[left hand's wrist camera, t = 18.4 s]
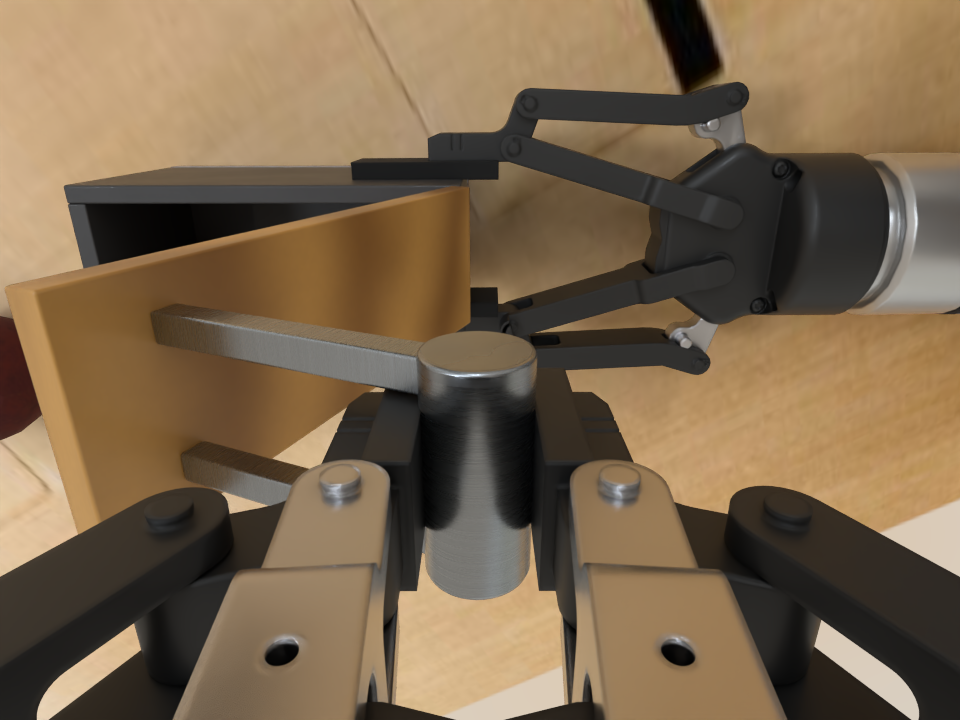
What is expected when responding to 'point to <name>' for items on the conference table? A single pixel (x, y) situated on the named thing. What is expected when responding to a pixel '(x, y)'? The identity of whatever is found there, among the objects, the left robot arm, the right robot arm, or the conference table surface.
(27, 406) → the dark red ball
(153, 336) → the lid
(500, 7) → the conference table surface
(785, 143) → the conference table surface
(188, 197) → the chest
